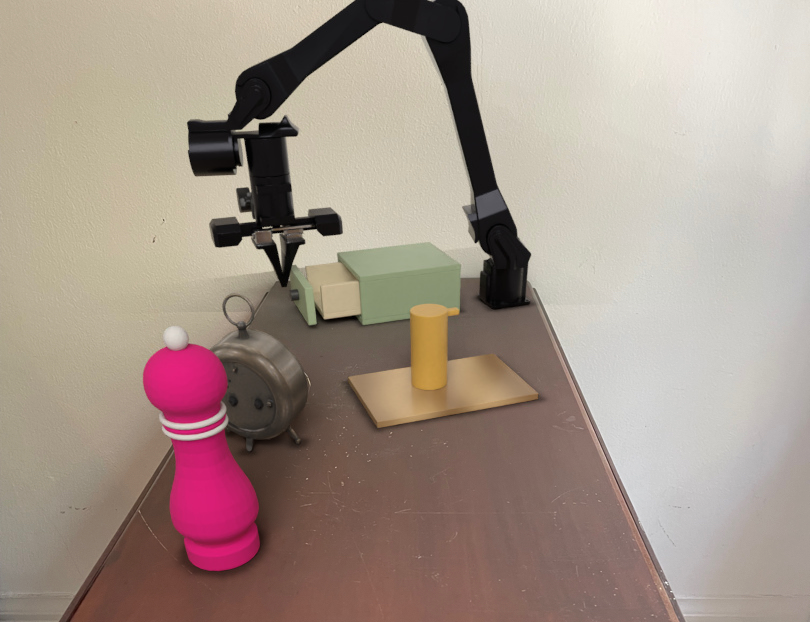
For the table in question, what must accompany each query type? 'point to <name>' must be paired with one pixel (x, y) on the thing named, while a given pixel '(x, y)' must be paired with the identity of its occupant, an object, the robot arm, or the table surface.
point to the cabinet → (402, 280)
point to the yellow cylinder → (429, 345)
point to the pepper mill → (202, 455)
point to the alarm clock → (260, 382)
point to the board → (440, 391)
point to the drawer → (325, 291)
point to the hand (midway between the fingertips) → (283, 286)
